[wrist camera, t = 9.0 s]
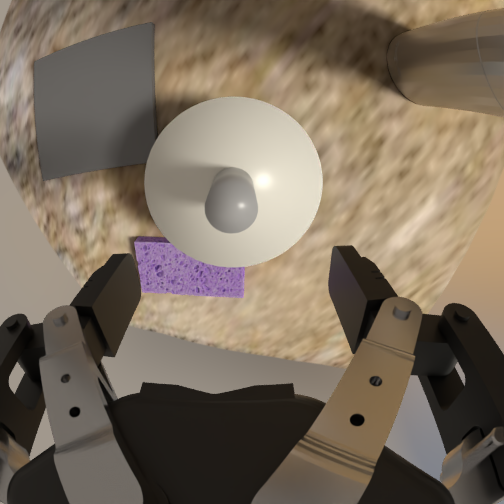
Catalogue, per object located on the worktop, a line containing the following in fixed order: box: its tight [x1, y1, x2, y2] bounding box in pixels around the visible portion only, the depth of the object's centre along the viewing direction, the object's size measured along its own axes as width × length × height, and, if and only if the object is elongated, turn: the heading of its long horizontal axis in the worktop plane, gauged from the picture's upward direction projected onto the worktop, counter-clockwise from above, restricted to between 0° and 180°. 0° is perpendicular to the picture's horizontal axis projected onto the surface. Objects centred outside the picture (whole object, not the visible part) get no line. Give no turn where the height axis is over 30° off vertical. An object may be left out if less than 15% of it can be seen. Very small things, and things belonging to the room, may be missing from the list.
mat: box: [34, 22, 158, 181], centre depth 23 cm, size 15×15×1 cm
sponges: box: [134, 236, 245, 298], centre depth 32 cm, size 7×13×2 cm, turn 86°
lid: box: [144, 97, 323, 267], centre depth 19 cm, size 14×14×6 cm
